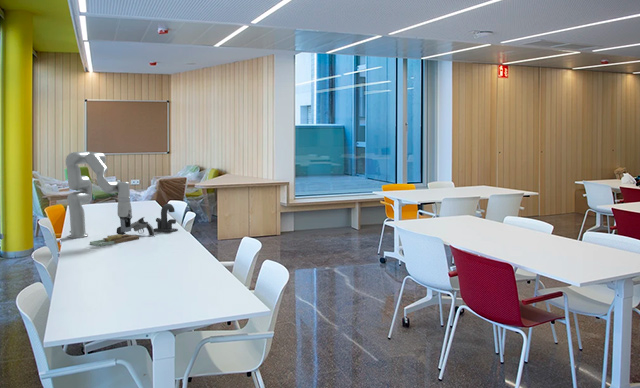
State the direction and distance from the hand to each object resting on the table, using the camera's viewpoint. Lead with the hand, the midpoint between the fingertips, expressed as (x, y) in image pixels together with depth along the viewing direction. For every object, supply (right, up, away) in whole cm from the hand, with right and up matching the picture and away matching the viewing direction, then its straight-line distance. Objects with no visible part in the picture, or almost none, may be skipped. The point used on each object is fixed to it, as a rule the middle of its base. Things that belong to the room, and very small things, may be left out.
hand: (125, 226), depth 378 cm
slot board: (-2, -9, -2) cm, 10 cm away
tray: (-10, -11, -13) cm, 20 cm away
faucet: (+19, -5, +37) cm, 42 cm away
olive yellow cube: (-4, -9, -4) cm, 11 cm away
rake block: (0, -3, 0) cm, 3 cm away
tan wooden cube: (-6, -10, -8) cm, 14 cm away
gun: (0, -8, +19) cm, 21 cm away
